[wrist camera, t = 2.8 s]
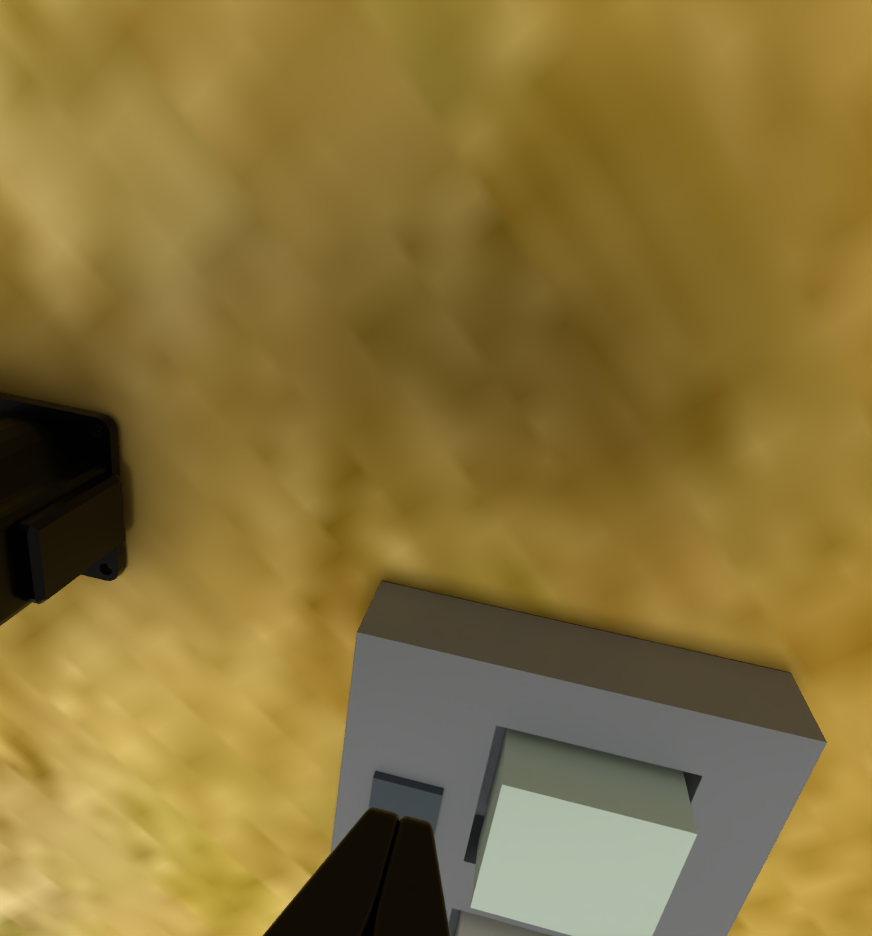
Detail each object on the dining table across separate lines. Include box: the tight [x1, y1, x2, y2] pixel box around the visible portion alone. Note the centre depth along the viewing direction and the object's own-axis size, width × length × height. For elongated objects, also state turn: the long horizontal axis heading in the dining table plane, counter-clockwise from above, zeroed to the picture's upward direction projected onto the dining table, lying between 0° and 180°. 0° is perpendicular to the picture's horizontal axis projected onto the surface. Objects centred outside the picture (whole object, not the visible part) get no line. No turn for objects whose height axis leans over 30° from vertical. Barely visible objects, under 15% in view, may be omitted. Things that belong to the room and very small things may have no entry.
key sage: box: [470, 728, 697, 936], centre depth 20 cm, size 6×6×2 cm
